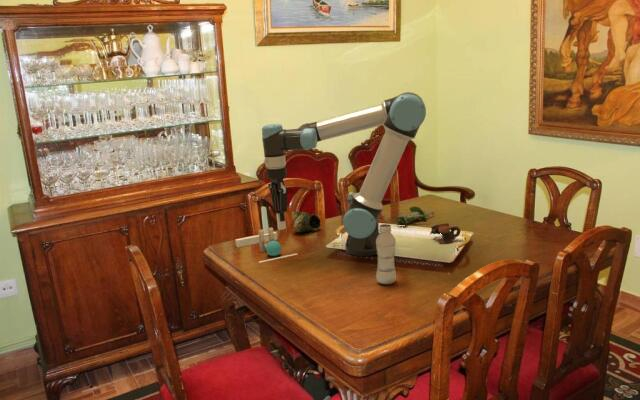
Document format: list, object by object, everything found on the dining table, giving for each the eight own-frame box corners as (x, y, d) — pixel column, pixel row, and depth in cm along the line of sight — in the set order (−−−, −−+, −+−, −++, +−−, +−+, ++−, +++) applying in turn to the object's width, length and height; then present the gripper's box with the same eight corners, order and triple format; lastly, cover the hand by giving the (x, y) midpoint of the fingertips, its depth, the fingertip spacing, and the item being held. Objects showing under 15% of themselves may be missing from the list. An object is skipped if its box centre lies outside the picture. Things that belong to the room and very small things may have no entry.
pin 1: (266, 251, 225) (264, 229, 223) (263, 252, 224) (261, 231, 222) (262, 250, 227) (260, 229, 224) (259, 251, 225) (257, 230, 223)
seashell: (316, 236, 241) (315, 214, 238) (291, 236, 243) (289, 214, 241) (321, 229, 251) (320, 207, 249) (297, 229, 253) (295, 207, 251)
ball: (282, 238, 221) (281, 252, 223) (266, 237, 220) (266, 251, 223) (281, 245, 215) (280, 259, 217) (265, 244, 215) (265, 258, 217)
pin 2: (275, 249, 227) (274, 227, 225) (272, 250, 226) (270, 229, 224) (271, 248, 228) (270, 227, 226) (268, 249, 227) (267, 228, 225)
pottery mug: (432, 246, 223) (427, 226, 225) (435, 249, 231) (430, 229, 234) (462, 239, 219) (457, 219, 222) (464, 242, 228) (459, 223, 230)
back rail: (275, 238, 241) (275, 231, 241) (277, 239, 240) (276, 232, 239) (235, 246, 234) (235, 239, 233) (237, 247, 232) (236, 240, 231)
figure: (414, 214, 269) (383, 227, 252) (413, 200, 268) (381, 212, 250) (444, 217, 258) (413, 231, 240) (443, 202, 256) (412, 214, 239)
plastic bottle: (374, 280, 190) (372, 223, 185) (394, 278, 190) (393, 222, 186) (378, 287, 184) (376, 229, 179) (398, 285, 184) (397, 227, 179)
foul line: (296, 253, 220) (296, 253, 220) (297, 254, 219) (297, 254, 219) (258, 262, 213) (258, 261, 213) (259, 263, 212) (259, 262, 212)
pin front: (273, 248, 223) (265, 243, 231) (269, 247, 222) (260, 242, 230) (272, 253, 223) (263, 247, 231) (267, 252, 222) (259, 246, 230)
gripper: (259, 166, 208) (266, 227, 213) (273, 171, 197) (279, 235, 202) (278, 163, 211) (284, 223, 217) (292, 167, 200) (298, 230, 205)
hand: (282, 228), depth 209 cm, fingers closed
